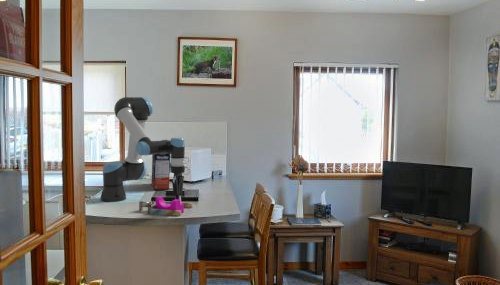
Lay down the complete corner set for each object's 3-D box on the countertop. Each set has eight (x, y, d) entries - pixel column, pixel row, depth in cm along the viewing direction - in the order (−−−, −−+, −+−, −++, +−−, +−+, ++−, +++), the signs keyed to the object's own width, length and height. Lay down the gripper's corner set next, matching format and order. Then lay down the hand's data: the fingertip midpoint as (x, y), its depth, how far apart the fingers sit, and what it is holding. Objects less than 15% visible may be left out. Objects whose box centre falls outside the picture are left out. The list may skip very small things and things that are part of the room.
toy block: (183, 212, 230) (183, 198, 229) (176, 214, 225) (175, 201, 224) (163, 208, 238) (163, 195, 237) (155, 210, 233) (155, 197, 232)
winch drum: (138, 210, 232) (138, 202, 232) (142, 209, 237) (142, 200, 236) (150, 211, 231) (150, 202, 230) (153, 209, 235) (153, 200, 235)
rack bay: (148, 213, 226) (147, 208, 226) (162, 205, 246) (162, 200, 246) (180, 215, 223) (180, 210, 222) (192, 207, 242) (192, 201, 242)
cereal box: (169, 190, 291) (171, 144, 289) (153, 190, 288) (154, 144, 286) (166, 183, 317) (167, 141, 314) (150, 183, 313) (151, 141, 311)
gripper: (179, 167, 224) (180, 210, 226) (188, 164, 237) (188, 204, 239) (166, 166, 226) (167, 209, 228) (175, 163, 238) (176, 204, 241)
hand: (178, 207), depth 233 cm, fingers closed
